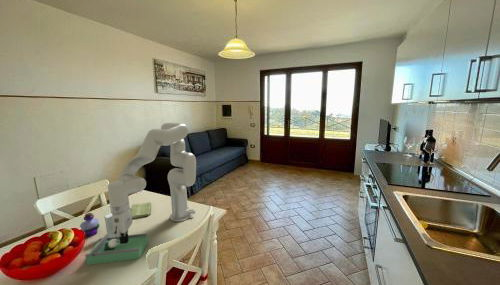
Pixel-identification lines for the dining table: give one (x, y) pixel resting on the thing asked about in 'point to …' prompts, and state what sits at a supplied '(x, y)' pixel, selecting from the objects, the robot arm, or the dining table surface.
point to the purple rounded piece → (90, 225)
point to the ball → (113, 243)
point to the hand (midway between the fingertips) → (124, 242)
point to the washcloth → (141, 210)
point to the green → (117, 249)
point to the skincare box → (109, 225)
